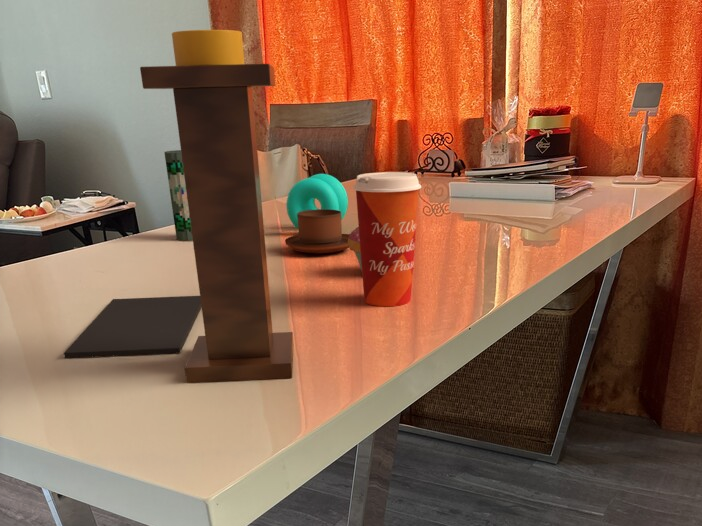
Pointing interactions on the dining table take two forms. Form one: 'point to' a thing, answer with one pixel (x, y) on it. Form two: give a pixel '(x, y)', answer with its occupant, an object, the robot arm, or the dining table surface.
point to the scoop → (208, 47)
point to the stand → (226, 220)
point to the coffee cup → (387, 235)
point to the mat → (138, 327)
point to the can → (178, 195)
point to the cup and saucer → (319, 232)
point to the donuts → (316, 196)
